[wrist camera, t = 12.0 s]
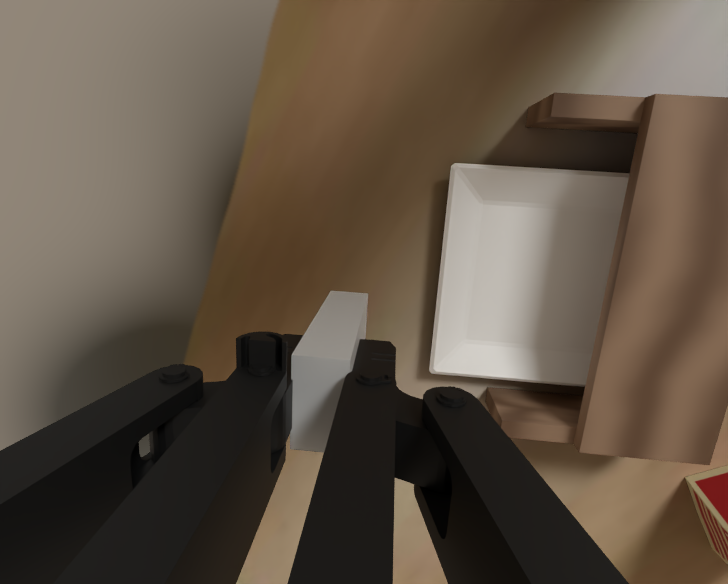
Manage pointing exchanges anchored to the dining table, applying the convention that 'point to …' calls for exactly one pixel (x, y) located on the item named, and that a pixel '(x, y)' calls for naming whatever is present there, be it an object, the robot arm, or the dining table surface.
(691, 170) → the overhang shelf
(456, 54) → the dining table surface
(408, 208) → the dining table surface
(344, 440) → the robot arm
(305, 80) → the dining table surface
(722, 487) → the milk carton
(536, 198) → the plate
